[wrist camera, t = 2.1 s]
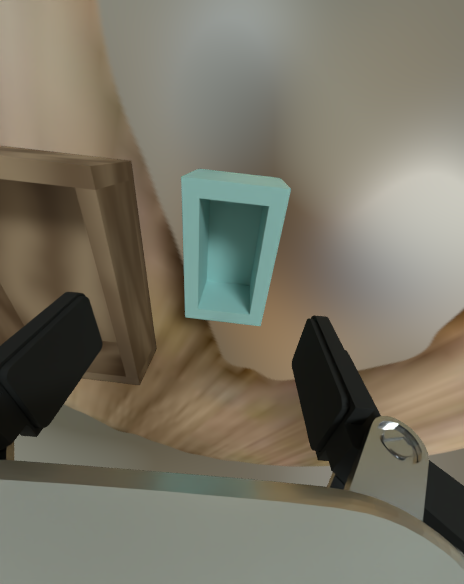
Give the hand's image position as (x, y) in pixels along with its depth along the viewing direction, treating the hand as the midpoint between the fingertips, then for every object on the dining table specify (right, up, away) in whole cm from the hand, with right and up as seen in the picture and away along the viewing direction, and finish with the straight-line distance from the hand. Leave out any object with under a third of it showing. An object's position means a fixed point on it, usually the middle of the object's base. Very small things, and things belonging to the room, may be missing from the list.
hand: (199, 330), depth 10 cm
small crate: (+2, +6, +9) cm, 11 cm away
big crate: (-15, +4, +12) cm, 20 cm away
